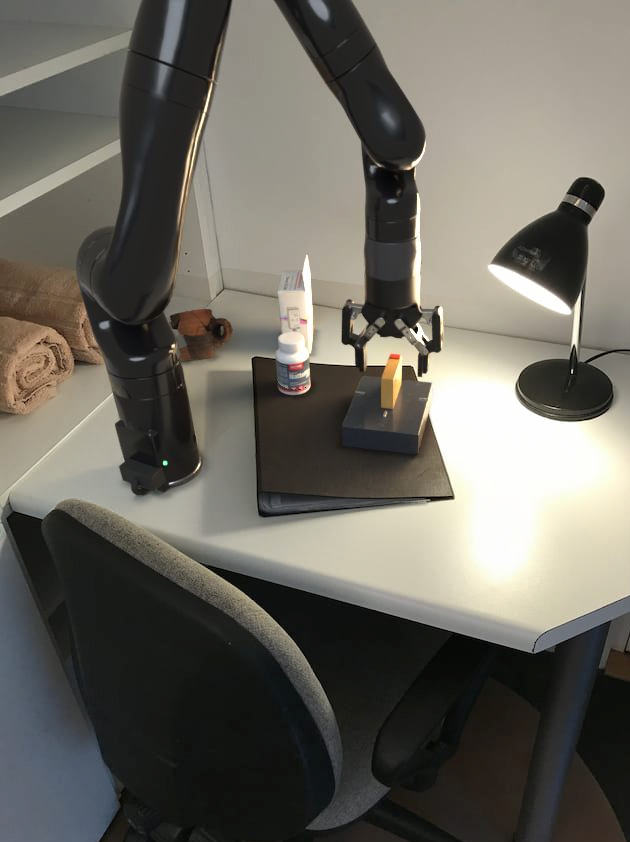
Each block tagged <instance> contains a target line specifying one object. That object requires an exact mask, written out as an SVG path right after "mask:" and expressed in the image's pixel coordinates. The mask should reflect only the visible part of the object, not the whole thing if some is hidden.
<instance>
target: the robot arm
mask: <svg viewBox="0 0 630 842" xmlns="http://www.w3.org/2000/svg"><path fill="white" fill-rule="evenodd" d="M233 2H234V0H140V2H139V6H138V9H137V13H136V16H135V19H134V23H133V26H132V30H131V34H130V38H129V41H128V46H127V49H128V50H126V55H125V61H124V65H123V72H122V77H121V83H120V88H119V96H118V97H119V98H118V133H119V148H120V162H121V176H122V179H121V192H120V193H121V194H120V201H119V207H118V212H117V216H116V220H115V223H114V225H106V226H102V227H99V228H96V229H95V230H93V231H91V232H90V233H89V234H88V235H87V236H85V238H83V240H82V241H81V243H80V245H79V247H78V250H77V252H76V256H75V274H76V280H77V284H78V289H79V292H80V295H81V299H82V302H83V306H84V308H85V312H86V313H85V314H86V315H87V319H88V322H89V326H90V329H91V333H92V336H93V338H94V341H95V343H96V345H97V347H98V349H99V352H100V353H101V355H102V358H103V362H104V366H105V369H106V373H107V376H108V381H109V384H110V388H111V392H112V396H113V400H114V404H115V408H116V412H117V415H118V419H119V420H118V421H116V422H115V423H114V428H115V432H116V435H117V439H118V443H119V446H120V450H121V454H122V458H123V462H122V463H121V464H120V465H118V469H119V473H120V476H121V480H122V481H123V482H126V483H129V484H131V485H130V488H131V492H132V494H134V495H136V496H146V494H147V490H149V491H151V492H156V491H159V492H161V493H165V492H167V491H168V490H169V489H171V488H176V487H178V486H181V485H184V484H185V483H188V482H189V481H191V480H192V479H194V478H195V477H196V476H197V475H198V474H199V472H200V470H201V468H202V457H201V454H200V451H199V445H198V434H197V432H196V431H197V428H196V427H195V423H194V419H193V414H192V409H191V403H190V399H189V393H188V387H187V383H186V378H185V377H186V376H185V372H184V367H183V361H182V360H181V355H180V349H179V348H180V345H179V341H178V337H177V335H176V333H175V329H174V330H173V329H172V327H171V325H170V323H171V322H170V321H169V320H168V317H167V314H166V312H165V311H166V309H167V307H168V306H169V304H170V302H171V300H172V298H173V297H174V296H173V295H174V292H175V288H176V285H177V278H178V272H179V271H178V270H179V265H180V264H179V263H180V262H179V261H180V256H181V247H182V241H183V232H184V225H185V218H186V213H187V208H188V203H189V199H190V195H191V191H192V187H193V183H194V179H195V175H196V171H197V166H198V162H199V157H200V153H201V149H202V144H203V142H204V137H205V133H206V129H207V126H208V123H209V119H210V114H211V111H212V108H213V103H214V98H215V94H216V91H217V86H218V83H219V77H220V72H221V68H222V62H223V56H224V52H225V47H226V41H227V36H228V31H229V26H230V20H231V14H232V8H233ZM273 2H274V4H275V5H276V7H277V9H278V10H279V12H280V13H281V15H282V17H283V18H284V19H285V21H286V23H287V24H288V26H289V28H290V29H291V31H292V32H293V34H294V36H295V37H296V39H297V41H298V43H299V44H300V46H301V47H302V49H303V51H304V52H305V54H306V56H307V57H308V59H309V60H310V62H311V64H312V65H313V67H314V68H315V70H316V72H317V73H318V75H319V76H320V78H321V79H322V81H323V82H324V84H325V86H326V87H327V88H328V90H329V91H330V92H331V94H332V95H333V96H334V97H335V99H336V101H337V102H338V103H339V104H340V106H341V107H342V109H343V111H344V113H345V115H346V117H347V119H348V120H349V123H350V124H351V126H352V128H353V130H354V131H355V133H356V135H357V137H358V139H359V140H360V149H361V151H360V152H361V161H362V170H363V178H364V185H365V196H364V199H365V200H364V201H365V202H364V229H365V230H364V232H365V233H364V244H363V280H364V282H363V283H364V303H363V304H362V303H355V302H354V300H353V299H350V298H348V299H347V300H346V301H345V302H344V305H343V307H342V309H341V339H340V340H341V344H342V345H344V346H350V347H352V348H353V349H354V365H355V368H357V369H358V371H359V372H361V373H365V372H366V369H367V368H368V349H367V348H368V342H370V341H371V340H372V338H373V337H375V335H378V336H379V337H380V338H389V337H391V338H395V339H401V340H402V339H403V338H405V339H406V340H407V341H408V343H409V344H410V345H411V346H413V347H415V349H416V350H417V352H418V354H417V377H418V378H423V376H424V375H426V374H427V373H428V371H429V367H430V354H431V353H436V354H439V353H441V351H442V347H443V343H444V311H443V310H444V309H443V307H442V306H440V305H436V306H434V308H423V306H422V305H421V274H422V273H421V270H422V264H423V260H422V258H423V257H422V244H421V234H420V233H421V232H420V231H421V199H420V191H419V189H418V185H417V182H416V165H418V164H419V162H420V161H421V160H422V157H423V155H424V153H425V150H426V145H427V135H426V129H425V126H424V123H423V121H422V120H421V118H420V115H418V113H417V112H416V110H415V108H414V106H413V105H412V104H411V101H410V100H409V98H408V97H407V95H406V94H405V92H404V91H403V89H402V88H401V86H400V84H399V83H398V82H397V80H396V78H395V77H394V76H393V74H392V73H391V71H390V69H389V67H388V65H387V62H386V60H385V58H384V55H383V53H382V51H381V48H380V47H379V46H378V43H377V42H376V39H375V37H374V36H373V34H372V32H371V31H370V29H369V27H368V25H367V24H366V22H365V19H364V18H363V16H362V15H361V13H360V12H359V10H358V8H357V6H356V4H355V3H354V1H353V0H273ZM360 314H361V315H362V317H363V318H364V320H365V321H366V323H367V324H366V325H365V327H364V328H363V330H361V332H360V333H359V334H356V333H354V325H355V324H354V322H355V320H356V319H357V318H358V316H359V315H360ZM422 319H425V321H426V324H427V325H428V326H430V327H431V339H430V340H429V338H428V337H427V336H426V335H425V334H424V331H423V329H422V327H421V325H420V324H419V323H420V322H421V320H422ZM139 487H140V488H139Z"/></svg>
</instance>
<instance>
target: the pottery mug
mask: <svg viewBox="0 0 630 842" xmlns="http://www.w3.org/2000/svg"><path fill="white" fill-rule="evenodd" d="M169 320H170V322H169V323H170V325H171V327H172V329H173V330H174V331H175V330H176V331H177V332H178V334H179V335H181V336H183V337H182V338H183V339H184V342H185V344H186V345H185V346H183V347H179V349H180V355H181V361H182V362H185V361H191V360H192V361H193V360H202V359H210V358H214V356H215V352H214V351H215V348H217V350H220V349H221V348H222V347H223V344H226V343H227V342H228V341H230V339H231V337H232V335H233V331H234V329H233V326H232V323H231V322H230V321H229V320H228V319H227V318H224V317H217V318H216V317H215V316H214V315H213V310H212V309H211V308H200V309H199V308H198V309H193V310H186V311H181V312H177V313H173V314H171V315H169ZM222 328H223V332H222Z"/></svg>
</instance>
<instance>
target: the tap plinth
mask: <svg viewBox="0 0 630 842" xmlns="http://www.w3.org/2000/svg"><path fill="white" fill-rule="evenodd" d="M381 378H382V377H380V376H370V375H369V376H368V375H362V376H361V378H360V381H359V383H358V386H357V387H356V390H355V391H354V396H353V398H352V401H351V402H350V405H349V407H348V410H347V413H346V415H345V417H344V420H343V422H342V425H341V441H342V447H350V448H358V449H366V450H374V451H382V452H393V453H400V454H410V455H419V451H420V448H421V444H422V439H423V437H424V432H425V429H426V426H427V425H426V424H427V421H428V417H429V413H430V409H431V406H432V402H433V401H432V400H433V382H430V381H419V380H409V379H401V386H400V389H399V393H398V396H397V399H396V402H395V405H394V408H393V409H387V408H381Z"/></svg>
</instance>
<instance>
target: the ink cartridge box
mask: <svg viewBox="0 0 630 842" xmlns="http://www.w3.org/2000/svg"><path fill="white" fill-rule="evenodd" d="M310 269H311V268H310V262H309V257H308V254H305V257H304V263H303V267H302V270H282V271H281V274H280V278H279V282H278V286H277V290H276V294H277V300H278V301H277V302H278V311H279V318H280V319H279V320H280V328H281V334H283V333H287V332H297V333H300V334H302V335H303V337H304V347H305V348H306V349H307V350H308V353H309V355H310V354H311V353H312V346H313V339H314V338H313V337H314V316H313V315H314V313H313V299H312V298H313V297H312V283H311V281H312V280H311V270H310Z"/></svg>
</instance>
